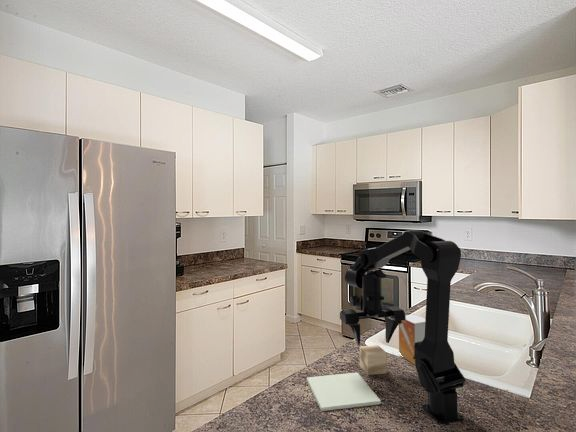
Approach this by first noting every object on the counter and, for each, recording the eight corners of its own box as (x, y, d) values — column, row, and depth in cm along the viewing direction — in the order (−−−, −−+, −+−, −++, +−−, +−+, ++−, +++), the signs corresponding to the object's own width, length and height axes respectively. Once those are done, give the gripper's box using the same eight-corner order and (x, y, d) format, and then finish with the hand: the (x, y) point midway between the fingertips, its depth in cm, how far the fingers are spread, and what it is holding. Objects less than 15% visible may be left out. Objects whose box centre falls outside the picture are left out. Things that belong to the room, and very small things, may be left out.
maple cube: (387, 373, 96) (386, 352, 96) (367, 375, 94) (367, 354, 94) (378, 364, 101) (377, 345, 101) (359, 366, 100) (359, 346, 100)
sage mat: (380, 404, 80) (380, 400, 80) (321, 411, 77) (321, 407, 77) (357, 375, 94) (357, 372, 94) (306, 380, 92) (306, 377, 92)
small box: (398, 355, 108) (397, 315, 108) (414, 352, 109) (414, 313, 110) (415, 365, 100) (414, 323, 100) (432, 362, 102) (431, 320, 102)
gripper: (388, 284, 108) (389, 332, 107) (333, 287, 104) (334, 336, 104) (406, 291, 97) (407, 345, 96) (345, 295, 93) (346, 350, 93)
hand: (373, 343), depth 98 cm, fingers open, 9 cm apart
